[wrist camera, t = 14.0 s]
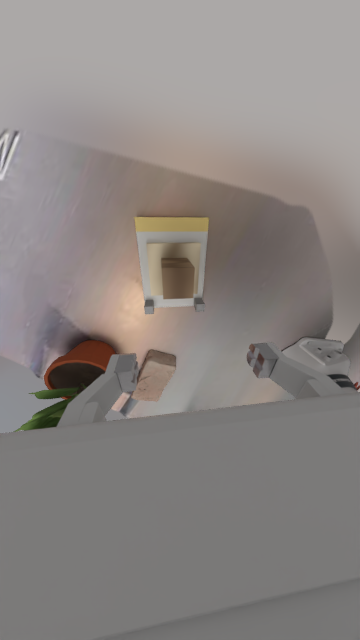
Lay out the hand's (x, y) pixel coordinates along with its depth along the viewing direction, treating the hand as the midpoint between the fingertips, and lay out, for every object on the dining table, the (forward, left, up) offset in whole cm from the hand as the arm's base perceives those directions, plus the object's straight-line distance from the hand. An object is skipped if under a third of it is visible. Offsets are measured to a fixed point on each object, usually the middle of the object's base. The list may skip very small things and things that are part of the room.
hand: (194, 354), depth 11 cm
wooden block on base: (0, 0, -22) cm, 22 cm away
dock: (0, -1, -25) cm, 25 cm away
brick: (+6, +31, -26) cm, 40 cm away
